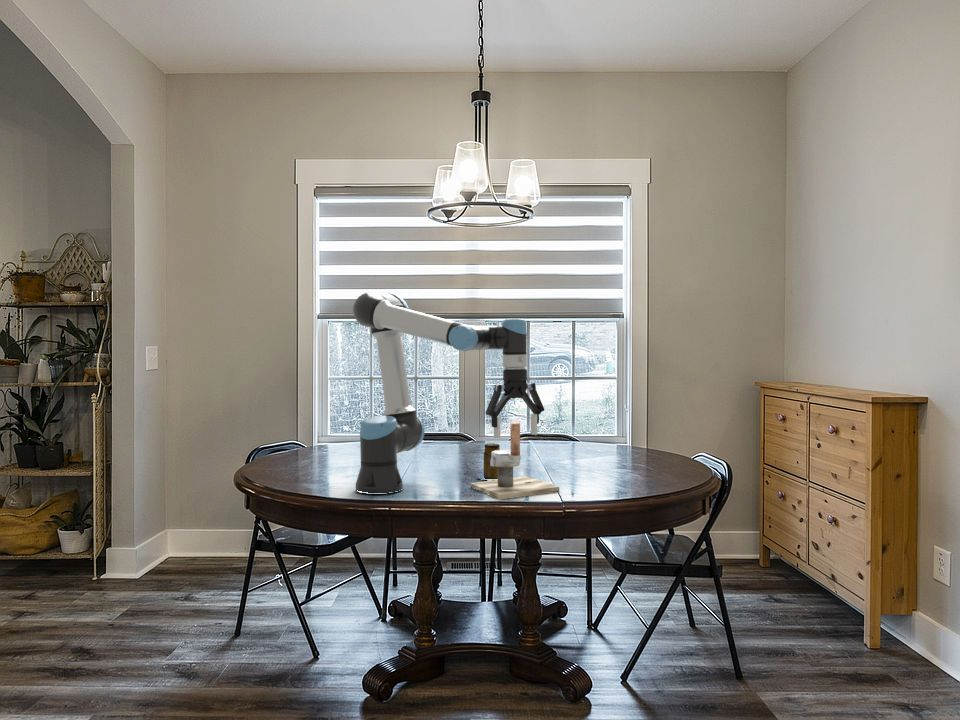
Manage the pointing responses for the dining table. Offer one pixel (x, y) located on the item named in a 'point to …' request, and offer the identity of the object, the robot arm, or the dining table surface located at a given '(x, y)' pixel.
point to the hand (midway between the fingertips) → (515, 436)
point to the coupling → (508, 456)
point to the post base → (513, 485)
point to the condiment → (489, 470)
